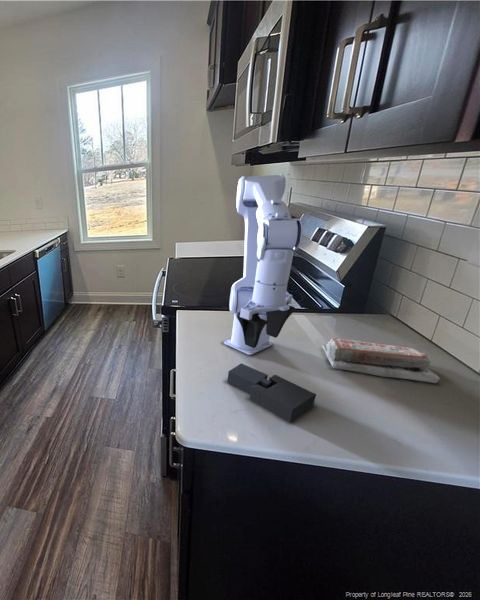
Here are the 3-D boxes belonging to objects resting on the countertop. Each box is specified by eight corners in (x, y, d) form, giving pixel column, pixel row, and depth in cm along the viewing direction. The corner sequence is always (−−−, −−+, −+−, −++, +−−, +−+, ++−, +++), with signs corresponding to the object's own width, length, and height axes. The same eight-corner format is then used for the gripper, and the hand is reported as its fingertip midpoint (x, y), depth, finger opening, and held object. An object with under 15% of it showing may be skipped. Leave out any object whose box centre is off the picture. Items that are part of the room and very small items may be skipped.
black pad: (272, 386, 69) (275, 374, 68) (313, 406, 62) (316, 394, 61) (249, 399, 65) (251, 387, 64) (289, 422, 59) (292, 409, 57)
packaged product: (336, 351, 71) (325, 332, 79) (332, 369, 73) (321, 348, 81) (446, 365, 64) (421, 342, 72) (438, 385, 66) (414, 360, 74)
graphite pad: (239, 374, 73) (241, 363, 72) (273, 390, 67) (276, 378, 66) (227, 382, 71) (228, 371, 70) (261, 399, 65) (263, 387, 64)
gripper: (269, 294, 57) (258, 359, 62) (312, 278, 64) (299, 338, 68) (234, 284, 63) (226, 344, 68) (277, 271, 69) (267, 326, 74)
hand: (261, 340), depth 69 cm, fingers open, 7 cm apart
